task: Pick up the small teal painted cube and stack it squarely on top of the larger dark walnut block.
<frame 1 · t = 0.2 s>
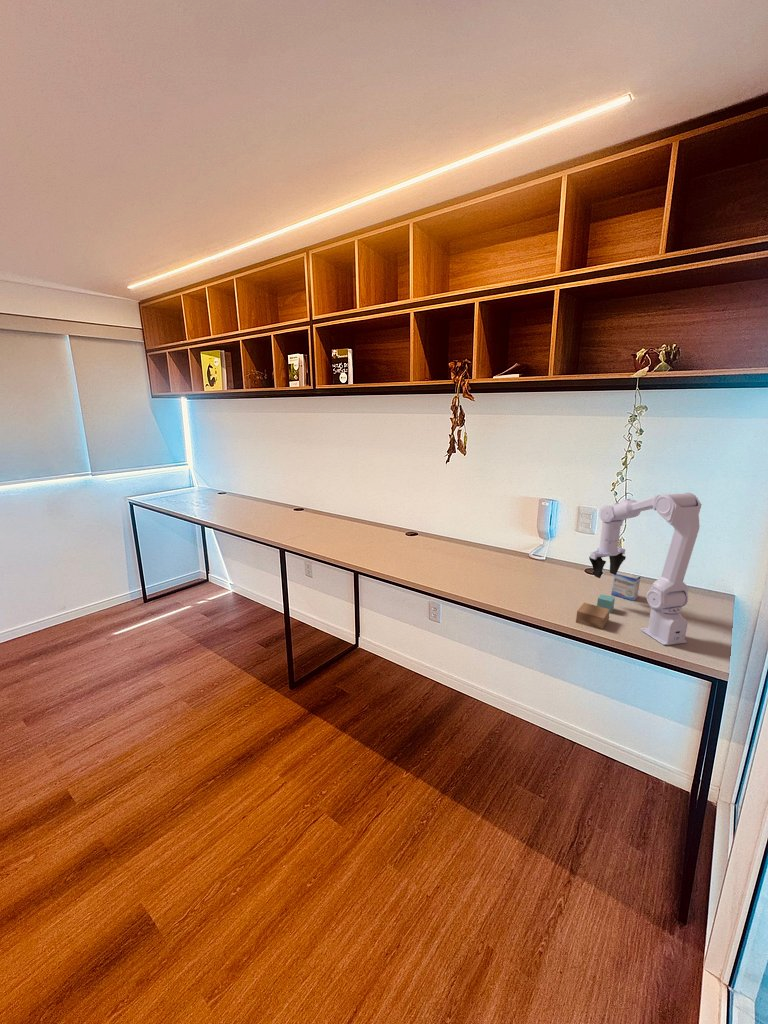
hand: (605, 575, 156), 10 cm above the table, tool pointing down, fingers open, 7 cm apart
medicine box: (623, 596, 162), on the table
teal cube: (604, 609, 151), on the table
walnut block: (592, 621, 143), on the table
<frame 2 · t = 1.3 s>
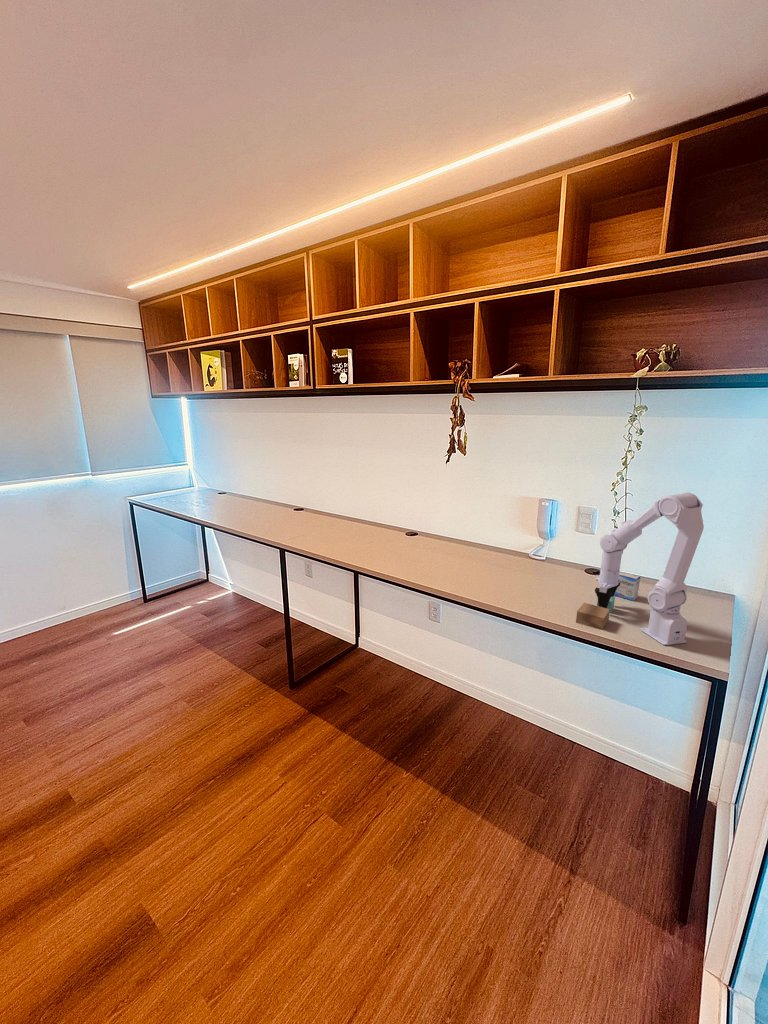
hand: (605, 605, 151), 1 cm above the table, tool pointing down, fingers open, 7 cm apart
nothing on the table moved.
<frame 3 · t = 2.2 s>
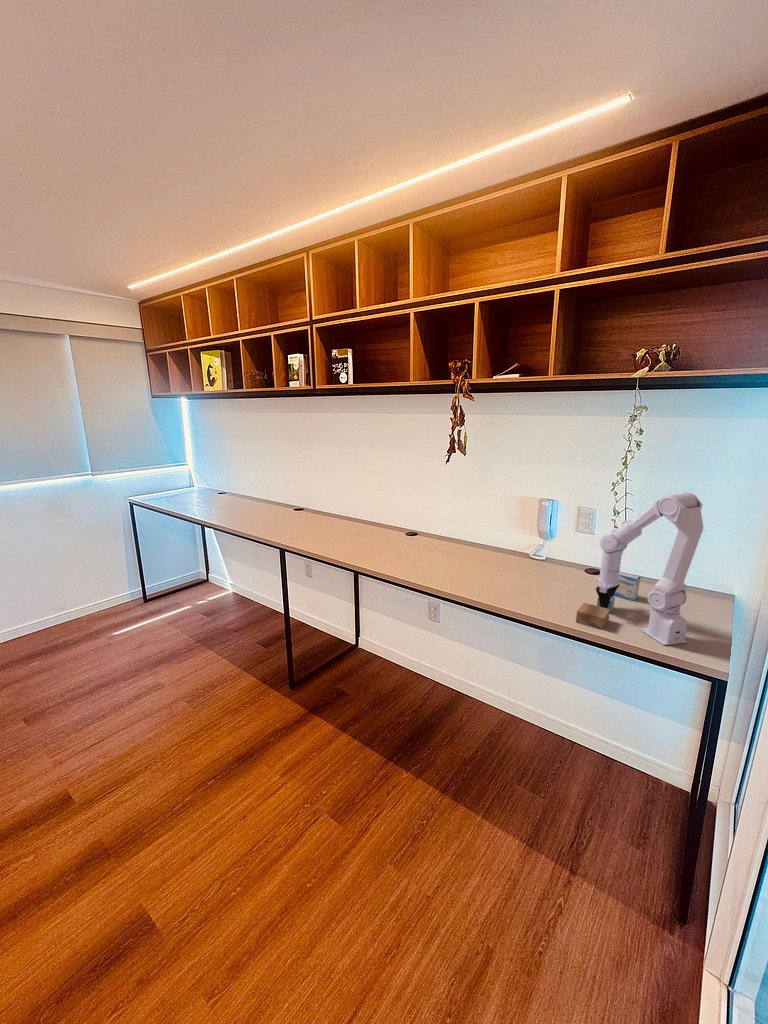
hand: (605, 605, 151), 1 cm above the table, tool pointing down, fingers closed on teal cube, 4 cm apart
teal cube: (604, 609, 151), on the table, touching gripper
everything else where it was.
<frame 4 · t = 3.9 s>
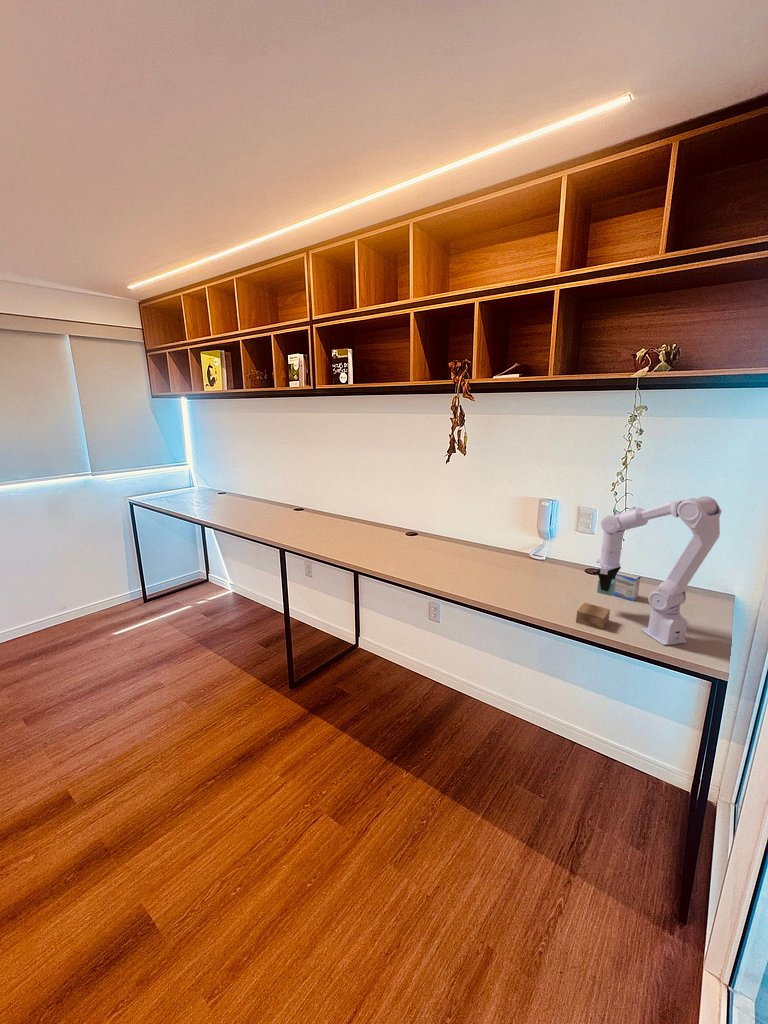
hand: (606, 588, 148), 8 cm above the table, tool pointing down, fingers closed on teal cube, 4 cm apart
teal cube: (605, 592, 149), point 7 cm above the table, touching gripper
everything else where it was.
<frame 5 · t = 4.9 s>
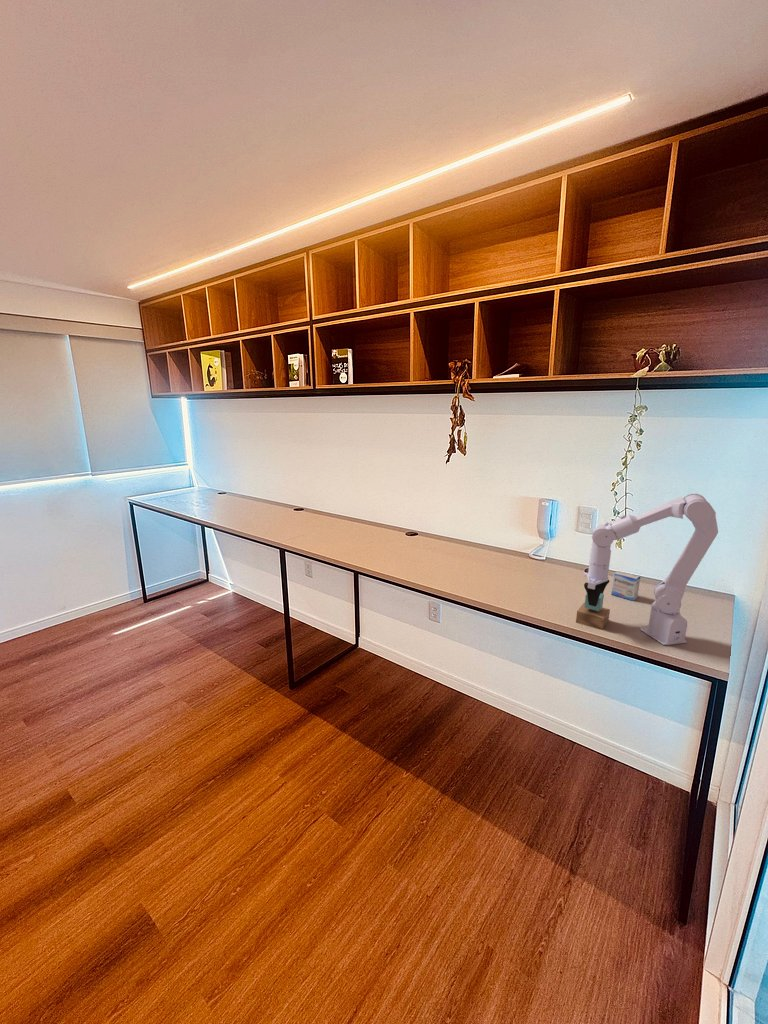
hand: (594, 602, 141), 7 cm above the table, tool pointing down, fingers closed on teal cube, 4 cm apart
teal cube: (593, 606, 142), point 5 cm above the table, touching gripper
everything else where it was.
when the fingers open (7 cm above the table, at t = 5.7 s): teal cube drops 1 cm, resting on walnut block.
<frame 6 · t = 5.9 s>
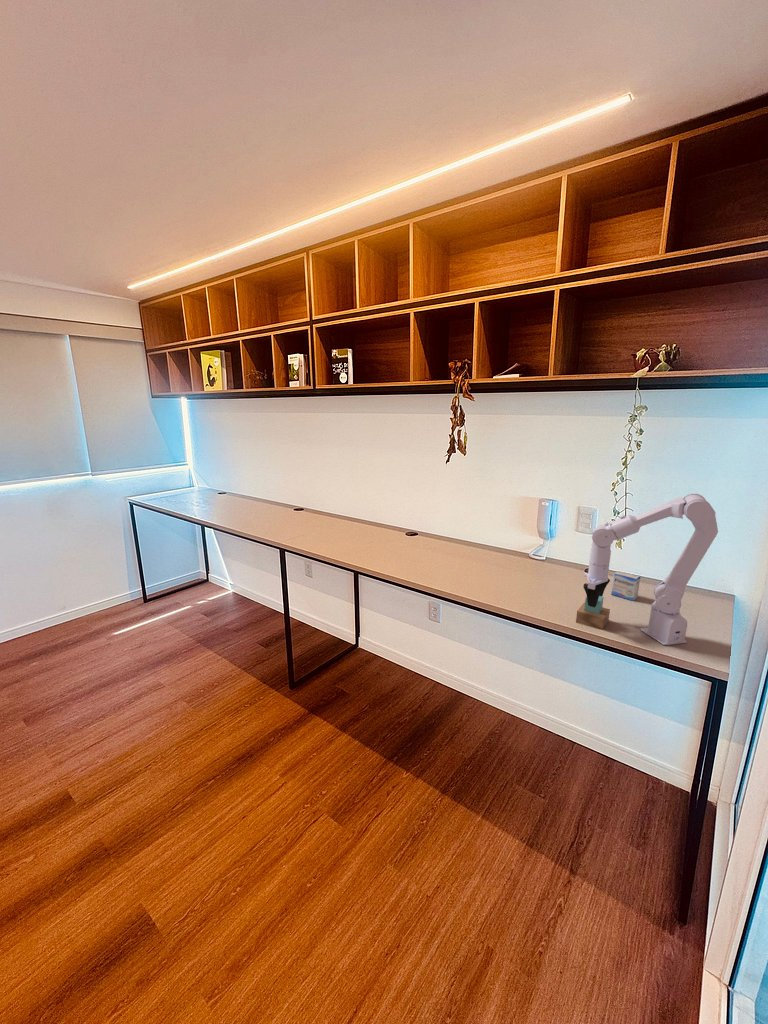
hand: (594, 602, 141), 7 cm above the table, tool pointing down, fingers open, 6 cm apart
teal cube: (593, 609, 142), point 4 cm above the table, touching walnut block
everything else where it was.
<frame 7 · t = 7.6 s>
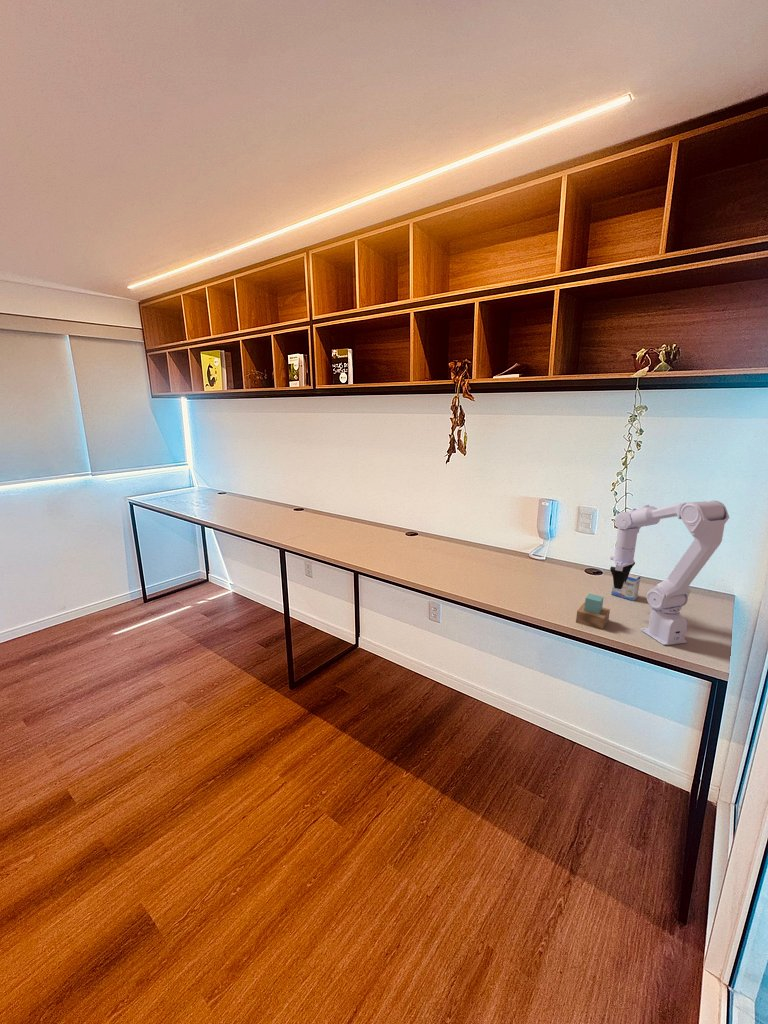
hand: (620, 584, 148), 9 cm above the table, tool pointing down, fingers open, 7 cm apart
nothing on the table moved.
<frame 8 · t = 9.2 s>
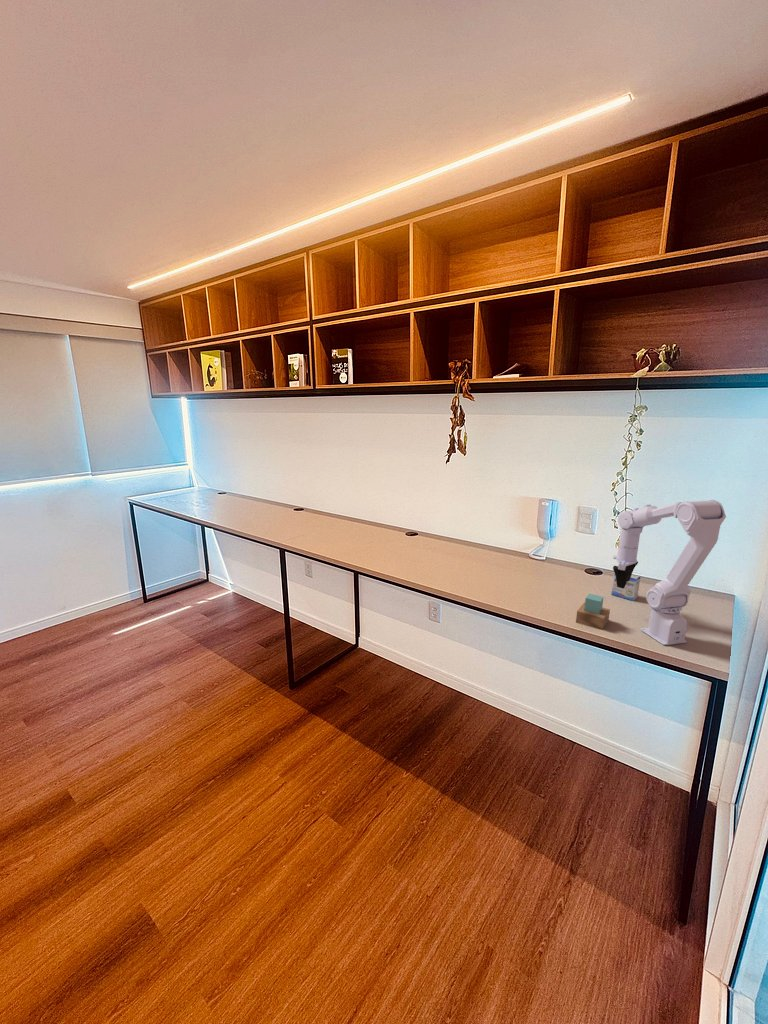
hand: (623, 583, 149), 9 cm above the table, tool pointing down, fingers open, 7 cm apart
nothing on the table moved.
at the end: teal cube 0.2 cm off-centre on the walnut block, point 4.0 cm above the walnut block's base; teal cube tilted 0°; the gripper is holding nothing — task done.
